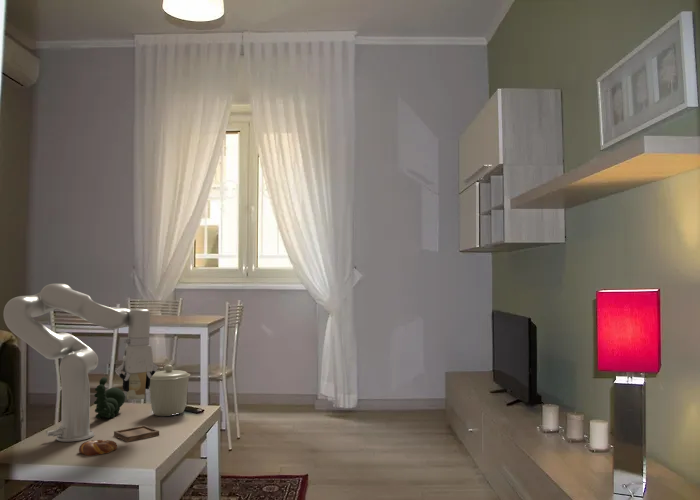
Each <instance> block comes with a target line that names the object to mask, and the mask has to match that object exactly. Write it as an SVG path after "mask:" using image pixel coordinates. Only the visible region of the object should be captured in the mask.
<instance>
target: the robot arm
mask: <svg viewBox="0 0 700 500" xmlns="http://www.w3.org/2000/svg"><path fill="white" fill-rule="evenodd" d="M55 310H59V311H62V312H66V313H68V314H70V315H74V316H77V317H78V318H80V319H83V320H84V321H86V322H88V323H90V324H93V325H95V326H98V327H101V328H104V329H107V330H117V329H122V328H128V331H127V336H128V337H127V339H124V340H123V343H124V344H126V346H125V349H124V352H123V358H122V363H121V365H119V366H118V367H117V368H115V371H114V372H115V373H116V374H117V375H118V377H119V378H120V379H121V380H122V389H123V392H126V393H127V392H128V391H129V381H128V378H129V376H130V375H131V374H135V373H143V372H146V387H145V390H149V386H150V378H151V377H152V376H153V375H154V373H155V372H157V370H158V369H159V366H158V365H157V364H156V363H155V362H154V360H153V349H152V345H150V331H151V330H150V328H151V327H150V326H151V311H150V310H149V309H146V308H145V309H144V308H133V309H132V308H126V307H116V308H112V307H110V306H106V305H103V304H100V303H98V302H96V301H95V300H93V299H92V297H91V296H90V295H89V294H86V293H83V292H80V291H77V290H74V289H73V288H72V287H71V286H69V284H66V283H49V284H46V285H45V286H44V287H42V289H40V291H39V292H38V293H35V294H32V295H19V296H16V297H13V298H11V299H10V300H8V301H7V302H6V304H5V306H4V309H3V320H4V323H5V325H6V326H7V328H8V330H10V332H11V333H12V334H14V335H15V336H16V337H18V338H19V339H20V340H22V341H23V342H24V343H26V344H27V345H28V346H30V347H31V348H32V349H34V350H35V351H36V352H37V353H39V354H40V355H41V356H43V358H45V359H47V360H57V359H58V360H59V359H61V361H60V364H59V375H60V384H61V413H60V414H61V422H60V423H61V425H59V426H58V427H57V428H56V429H54V430H53V429H52V430H47V431H46V436H47V437H56V441H58V442H61V443H62V442H64V443H66V442H67V443H70V442H72V443H73V442H79V441H80V442H81V441H84V440H88V439H91V438H93V437H94V436H95V431H93V430H90V425H91V423H90V422H91V421H90V417H91V416H90V415H91V414H90V413H91V408H90V407H91V403H90V401H91V387H90V386H91V385H90V379H89V373H91V372H93V371H95V369H96V368H97V367H98V365H99V357H98V354H97V353H96V352H95V350H93V349H92V348H91V347H90V346H88V345H87V344H85V343H84V342H83V341H81V340H80V339H79V338H78V337H76V335H75V336H74V335H73V334H71V333H69V332H65V331H64V332H63V331H61V332H55V331H53V330H51V329H50V328H49V327H47V326H46V325H44V324H43V323H42V322H40V321H38V320H36V319H34V318H36V317H40V316H43V315H45V314H48V313H50V312H53V311H55ZM146 366H147V370H146ZM122 372H123V373H122Z"/></svg>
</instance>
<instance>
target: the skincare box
mask: <svg viewBox="0 0 700 500" xmlns="http://www.w3.org/2000/svg"><path fill="white" fill-rule="evenodd" d="M146 370H147V366H146ZM128 381H129V391H128V392H126V399H127V400H145V398H146V389H145V387H146V372H143V373H135V374H131V375H130V376H129V378H128Z"/></svg>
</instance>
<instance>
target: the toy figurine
mask: <svg viewBox="0 0 700 500" xmlns="http://www.w3.org/2000/svg"><path fill="white" fill-rule="evenodd" d="M107 381H108V378H107V377H106V376H104V377H102V378H100V380H99V382H98V383H99V384H98V385H97V386H96V387H95V388H94V391H96V393H94V395H93V397H95V398H96V400H94V402H93V404H94V405H96V406H95V407H96V408H95V409H94V412H95V413H96V415H95V418H96V419H103V418H106V419H109V418H110V419H114V418H115V417H116V415H118V414H119V412H120V410H121V407H122V406H123V405H124V403H125V401H126V395H125V391H124V390H122V389H120V388H119V387H110V388H108V389H107V390H106V386H105V385H106V383H107Z"/></svg>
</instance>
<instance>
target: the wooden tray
mask: <svg viewBox="0 0 700 500" xmlns="http://www.w3.org/2000/svg"><path fill="white" fill-rule="evenodd" d="M113 436H114V437H116V438H118V439H121V440H123V441H125V442H127V443H128V442H133V441H137V440H143V439H147V438H153V437H158V436H160V430H158V429H156V428H154V427H150V426H148V425H139V426H134V427H130V428H124V429H119V430H114V431H113Z"/></svg>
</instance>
